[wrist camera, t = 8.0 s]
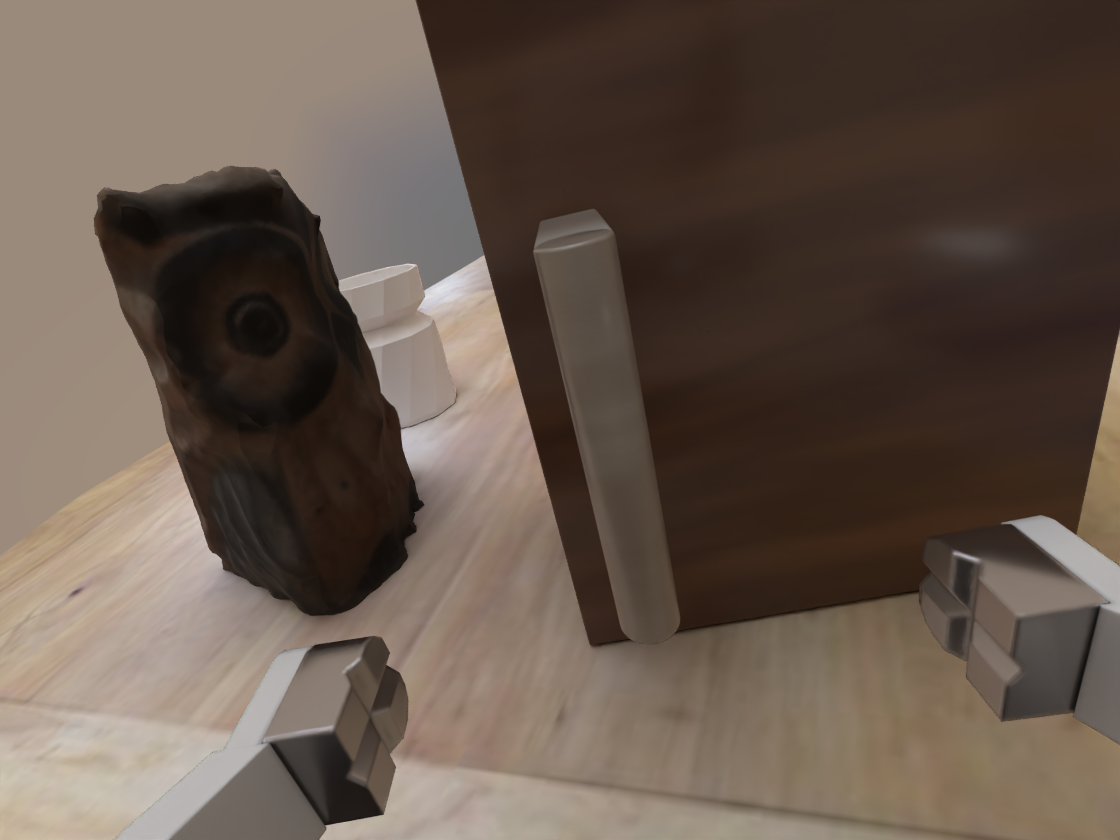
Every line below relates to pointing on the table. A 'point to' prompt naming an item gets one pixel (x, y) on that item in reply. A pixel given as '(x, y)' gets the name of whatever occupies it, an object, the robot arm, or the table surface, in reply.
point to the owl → (263, 384)
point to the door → (791, 279)
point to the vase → (402, 341)
